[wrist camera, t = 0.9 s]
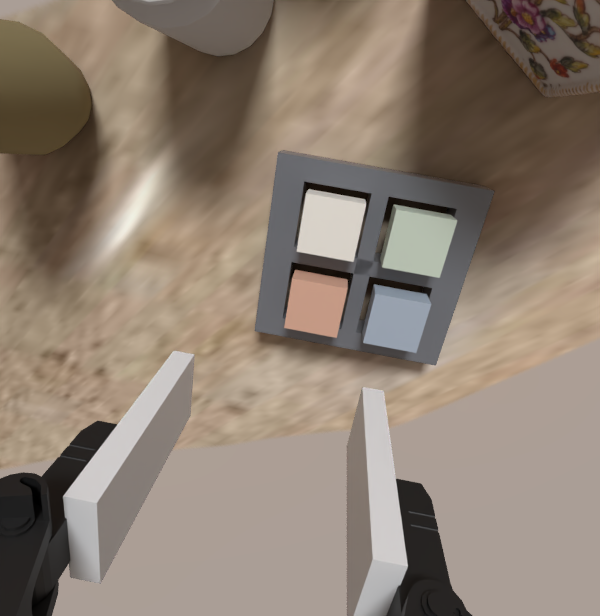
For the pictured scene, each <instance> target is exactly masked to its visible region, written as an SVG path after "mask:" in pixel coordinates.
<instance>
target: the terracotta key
mask: <svg viewBox="0 0 600 616" xmlns="http://www.w3.org/2000/svg"><path fill="white" fill-rule="evenodd" d="M347 289H348V279H343V278H338V277H333V276H327V275H322V274H316V273H311V272H306V271H300V270H295V272H294V275H293V277H292V283H291V289H290V295H289V301H288V307H287V313H286V319H285V326H284V328H287V329H293V330H298V331H303V332H308V333H314V334H319V335H324V336H329V337H335V338H337V334H338V330H339V325H340V321H341V316H342V312H343V307H344V303H345V298H346V294H347Z"/></svg>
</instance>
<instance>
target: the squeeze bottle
mask: <svg viewBox="0 0 600 616" xmlns="http://www.w3.org/2000/svg"><path fill="white" fill-rule="evenodd" d="M91 106H92V103H91V96H90V90H89V86H88V84H87V82H86V80H85V78H84V76H83V74H82V72H81V70H80V69H79V68H78V67H77V66H76V65H75V64H74V63H73V62H72V61H71V60H70V59H69V58H68V57H67V56H66V55H65V54H64V53H63V52H62V51H61V50H60V49H58V48H57V47H56V46H55V45H54V44H53V43H52V42H51V41H50V40H49V39H48V38H47V37H46V36H45V35H44V34H42V33H40V32H38V31H36V30H34V29H32V28H30V27H28V26H26V25H24V24H22V23H20V22H16V21H9V20H2V19H0V153H9V154H30V155H46V154H48V153H50V152H52V151H55V150H57V149H59V148H61V147H63V146H64V145H65V144H66V143H67V142H69V141H70V140H71V139H72V138H73V137H74V136H75V135H76V134H78V133H79V132H80V131H81V129H82V128H83V127H84V125H85V124H86V123H87V121H88V120H89V115H90V110H91Z"/></svg>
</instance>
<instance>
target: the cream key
mask: <svg viewBox="0 0 600 616" xmlns="http://www.w3.org/2000/svg"><path fill="white" fill-rule="evenodd" d="M365 208H366V201H365V199H361V198H356V197H350V196H345V195H339V194H333V193H328V192H322V191H317V190H311V189H308V191H307V192H306V196H305V203H304V209H303V215H302V221H301V227H300V233H299V239H298V246H297V252H302V253H307V254H313V255H318V256H324V257H329V258H334V259H340V260H345V261H351V262H354V257H355V253H356V248H357V244H358V239H359V235H360V230H361V226H362V221H363V217H364V212H365Z"/></svg>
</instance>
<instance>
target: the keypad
mask: <svg viewBox="0 0 600 616" xmlns="http://www.w3.org/2000/svg"><path fill="white" fill-rule="evenodd" d="M307 182H310V183H316V184H321V185H327V186H332V187H338V188H344V189H349V190H355V191H360V192H366V193H369V195H368V199H367V204H366V208H365V213H364V217H363V222H362V226H361V231H360V235H359V240H358V244H357V249H356V253H355V257H354V262H351V261H345V260H340V259H334V258H329V257H324V256H318V255H313V254H307V253H302V252H297V246H298V232H299V226H300V220H301V214H302V208H303V201H304V195H305V189H306V183H307ZM494 192H495V191H494V190H491V189H489V188H487V187H485V186H481V185H476V184H470V183H464V182H459V181H453V180H448V179H442V178H436V177H431V176H425V175H420V174H414V173H408V172H403V171H397V170H392V169H386V168H380V167H375V166H369V165H363V164H358V163H352V162H347V161H341V160H335V159H330V158H324V157H319V156H313V155H307V154H302V153H296V152H291V151H285V150H283V151H280V152H278V157H277V165H276V172H275V180H274V188H273V195H272V203H271V210H270V218H269V226H268V233H267V241H266V248H265V256H264V264H263V271H262V279H261V286H260V294H259V302H258V309H257V317H256V324H255V331H257V332H263V333H268V334H273V335H278V336H284V337H289V338H294V339H299V340H305V341H310V342H315V343H320V344H326V345H331V346H336V347H341V348H347V349H352V350H357V351H362V352H368V353H373V354H378V355H383V356H389V357H394V358H399V359H404V360H410V361H415V362H420V363H425V364H431V365H436V363H437V360H438V357H439V354H440V351H441V348H442V345H443V343H444V340H445V337H446V334H447V331H448V328H449V325H450V322H451V319H452V316H453V313H454V310H455V307H456V304H457V301H458V298H459V295H460V292H461V289H462V286H463V283H464V280H465V277H466V274H467V271H468V269H469V266H470V263H471V260H472V257H473V254H474V251H475V248H476V245H477V242H478V239H479V236H480V233H481V230H482V227H483V224H484V221H485V218H486V215H487V212H488V209H489V206H490V203H491V200H492V198H493V195H494ZM388 197H394V198H399V199H405V200H410V201H416V202H421V203H427V204H432V205H438V206H444V207H447V210H446V213H445V214H450V215H452V216H453V217H454V218H455V219H456V220H457V224H456V227H455V230H454V233H453V237H452V240H451V243H450V246H449V249H448V253H447V256H446V259H445V262H444V266H443V269H442V272H441V275H440V278H437V277H432V276H427V275H421V274H416V273H410V272H405V271H399V270H394V269H389V268H383V267H382V265H381V261H380V257H381V254H380V253H375V251H376V247H377V243H378V239H379V235H380V231H381V226H382V222H383V218H384V214H385V210H386V206H387V201H388ZM293 263H299V264H305V265H310V266H316V267H321V268H326V269H332V270H337V271H343V272H348V273H351V276H350V281H349V285H348V290H347V294H346V299H345V303H344V308H343V312H342V316H341V321H340V325H339V330H338V334H337V338H335V337H329V336H324V335H319V334H314V333H308V332H303V331H298V330H293V329H287V328H284V326H285V319H286V313H287V307H288V306H287V301H288V294H289V288H290V282H291V276H292V270H293ZM369 276H370V277H375V278H380V279H386V280H391V281H396V282H402V283H407V284H413V285H418V286H423V290H422V293H424V294H427V296H428V298H429V300H430V302H431V307H430V310H429V314H428V317H427V320H426V323H425V326H424V330H423V333H422V336H421V339H420V342H419V346H418V349H417V352H416V353H414V352H409V351H403V350H398V349H393V348H387V347H382V346H377V345H372V344H366V343H363V335H362V330H363V326H364V322H365V320H359V318H360V314H361V310H362V305H363V301H364V297H365V293H366V289H367V285H368V281H369Z"/></svg>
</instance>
